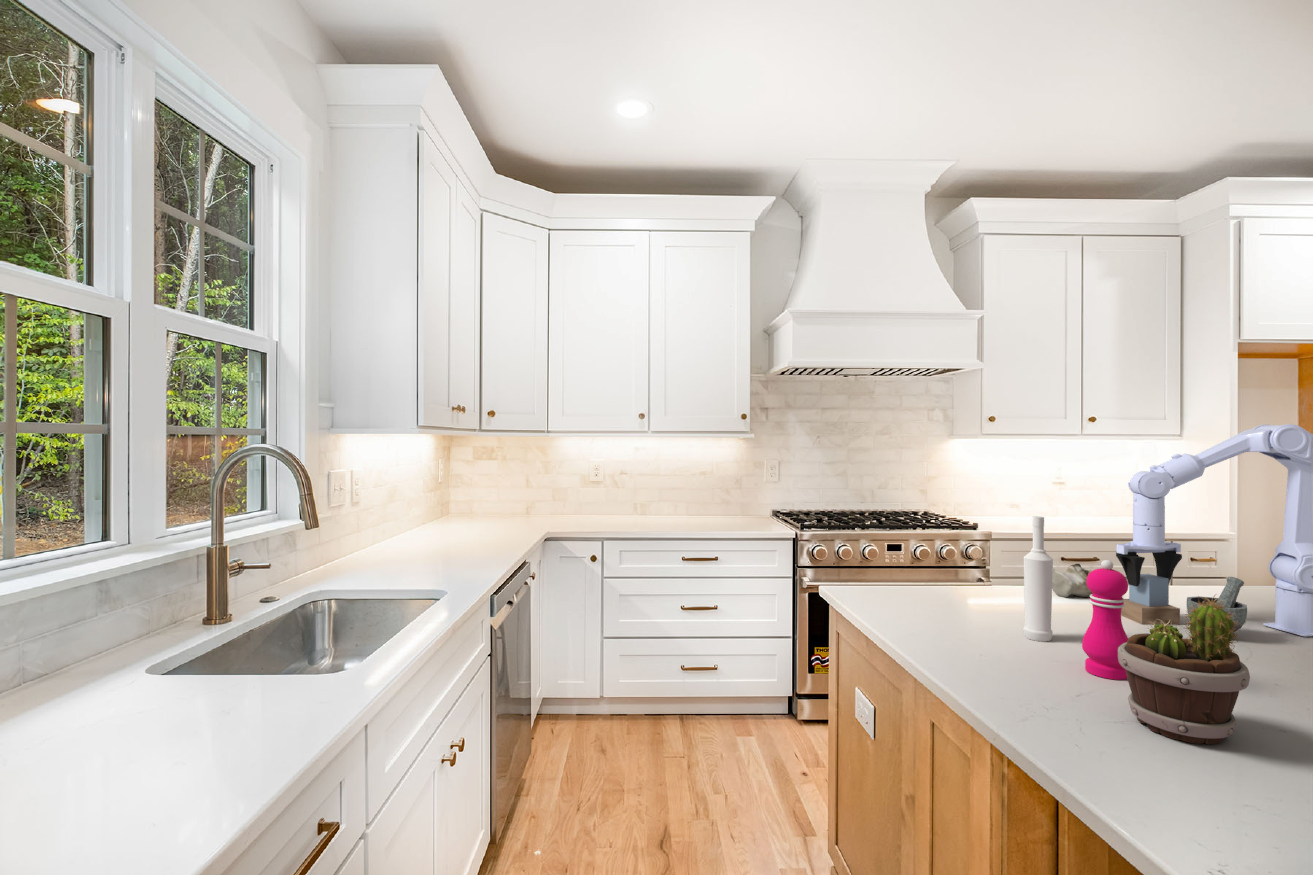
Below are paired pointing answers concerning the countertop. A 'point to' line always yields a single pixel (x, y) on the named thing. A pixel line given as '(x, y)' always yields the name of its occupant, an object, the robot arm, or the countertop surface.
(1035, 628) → the bottle
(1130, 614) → the walnut plinth
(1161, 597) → the slate block
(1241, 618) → the mortar and pestle
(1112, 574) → the pepper mill
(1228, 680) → the flowerpot
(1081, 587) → the grey rock
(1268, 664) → the countertop surface
